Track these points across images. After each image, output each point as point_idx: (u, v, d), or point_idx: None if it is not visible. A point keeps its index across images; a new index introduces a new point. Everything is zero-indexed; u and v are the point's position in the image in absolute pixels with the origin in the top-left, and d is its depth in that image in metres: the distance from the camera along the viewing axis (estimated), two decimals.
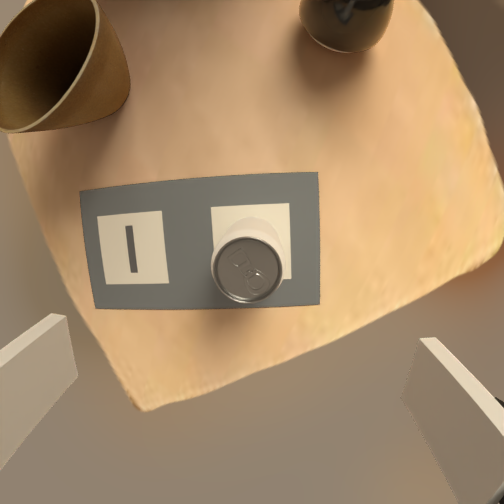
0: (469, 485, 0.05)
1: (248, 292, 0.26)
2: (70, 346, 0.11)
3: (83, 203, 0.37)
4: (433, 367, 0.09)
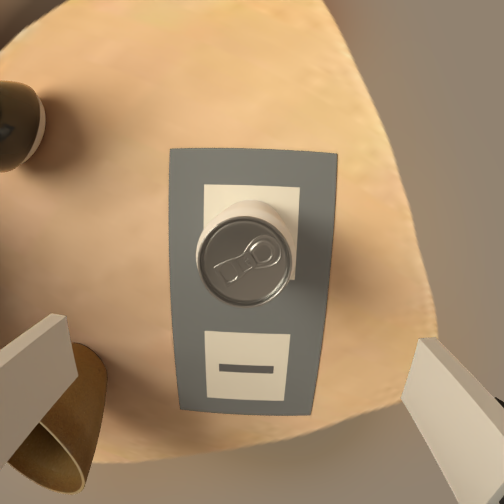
0: (469, 485, 0.05)
1: (276, 263, 0.19)
2: (71, 346, 0.11)
3: (193, 408, 0.35)
4: (433, 367, 0.09)
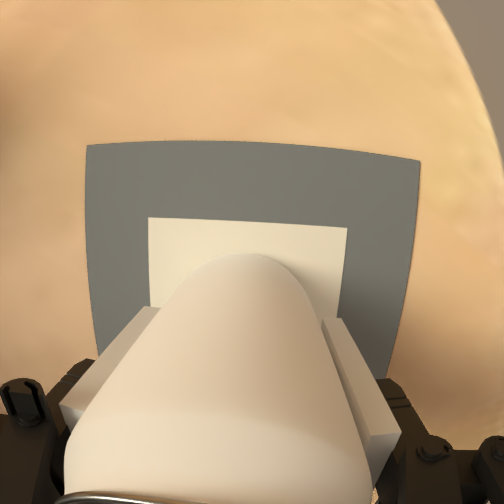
0: None
1: None
2: None
3: None
4: (328, 344, 0.11)
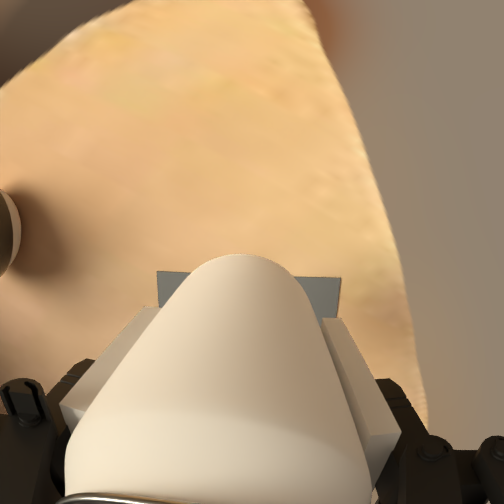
0: None
1: None
2: None
3: None
4: (328, 344, 0.11)
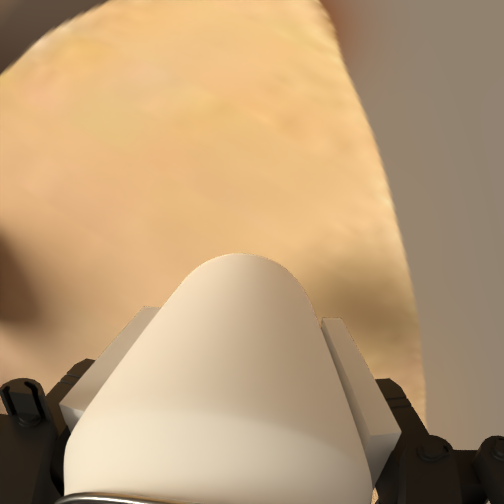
0: None
1: None
2: None
3: None
4: (328, 344, 0.11)
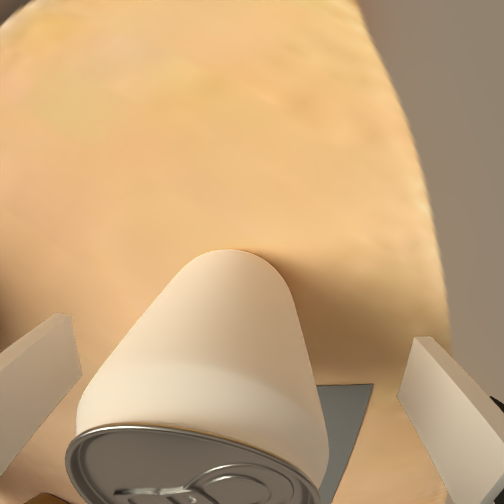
0: (464, 484, 0.05)
1: None
2: (75, 346, 0.11)
3: None
4: (428, 366, 0.09)
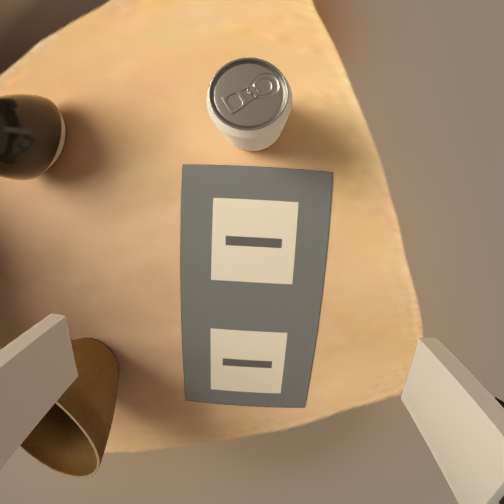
0: (469, 485, 0.05)
1: (275, 94, 0.21)
2: (70, 346, 0.11)
3: (197, 399, 0.39)
4: (433, 367, 0.09)
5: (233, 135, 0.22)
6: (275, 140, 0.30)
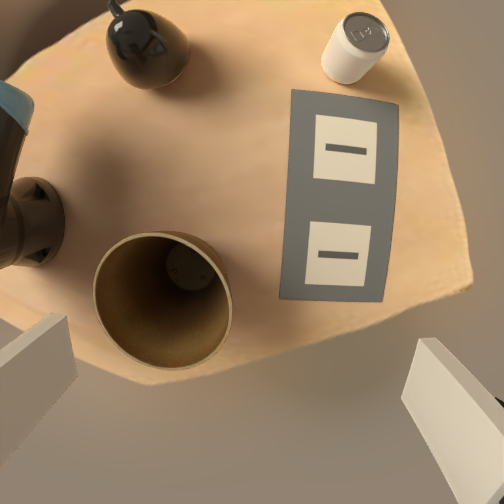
0: (469, 485, 0.05)
1: (381, 35, 0.28)
2: (71, 346, 0.11)
3: (290, 296, 0.46)
4: (433, 367, 0.09)
5: (356, 56, 0.29)
6: (362, 76, 0.37)
